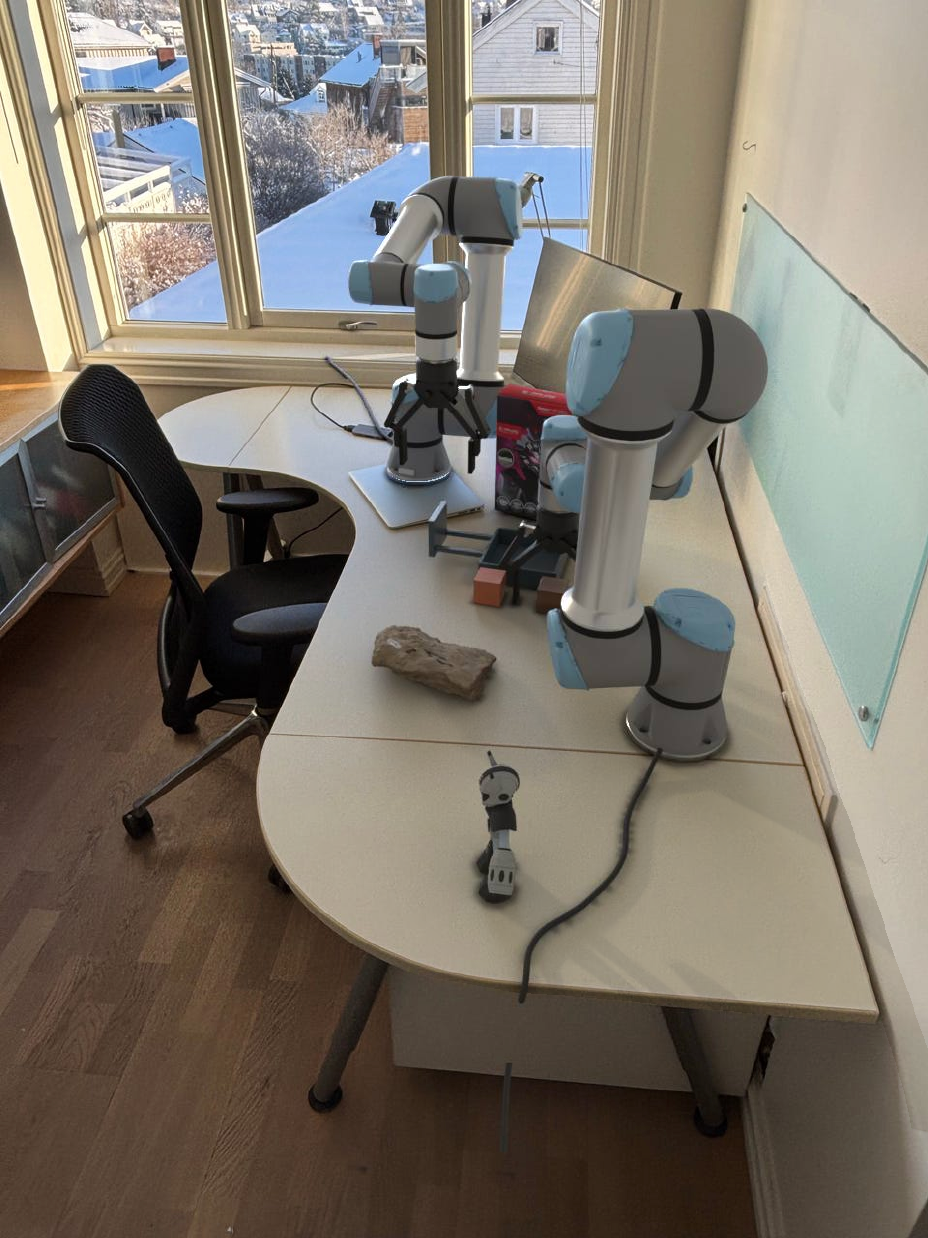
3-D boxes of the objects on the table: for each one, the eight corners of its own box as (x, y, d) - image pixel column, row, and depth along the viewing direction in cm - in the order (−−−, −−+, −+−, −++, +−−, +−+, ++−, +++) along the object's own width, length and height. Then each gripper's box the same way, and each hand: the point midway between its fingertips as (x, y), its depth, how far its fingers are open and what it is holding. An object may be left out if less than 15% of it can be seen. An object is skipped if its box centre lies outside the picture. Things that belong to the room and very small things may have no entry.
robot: (522, 941, 111) (530, 823, 99) (481, 942, 110) (485, 824, 99) (507, 820, 127) (513, 708, 116) (472, 821, 127) (474, 708, 115)
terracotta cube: (499, 606, 172) (499, 584, 169) (473, 602, 173) (473, 580, 170) (505, 593, 176) (506, 570, 173) (479, 589, 177) (480, 566, 174)
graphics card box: (491, 511, 204) (494, 391, 189) (505, 498, 209) (509, 381, 194) (563, 528, 197) (572, 406, 182) (575, 515, 202) (585, 395, 187)
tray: (568, 554, 189) (572, 510, 183) (555, 592, 176) (558, 546, 171) (445, 537, 194) (445, 494, 189) (424, 572, 182) (423, 528, 176)
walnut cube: (562, 616, 169) (564, 593, 167) (535, 612, 170) (537, 589, 168) (567, 602, 173) (569, 579, 171) (541, 598, 174) (542, 576, 172)
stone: (347, 674, 149) (354, 641, 146) (379, 641, 162) (386, 611, 160) (469, 718, 145) (478, 685, 143) (492, 681, 159) (500, 650, 156)
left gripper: (508, 357, 166) (504, 466, 177) (377, 344, 171) (382, 451, 183) (499, 370, 159) (495, 482, 171) (363, 357, 165) (369, 466, 177)
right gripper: (633, 504, 160) (621, 605, 172) (494, 486, 166) (491, 585, 178) (628, 523, 154) (615, 627, 166) (484, 504, 160) (481, 606, 172)
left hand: (437, 466), depth 177 cm, fingers open, 13 cm apart
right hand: (551, 606), depth 172 cm, fingers open, 13 cm apart
